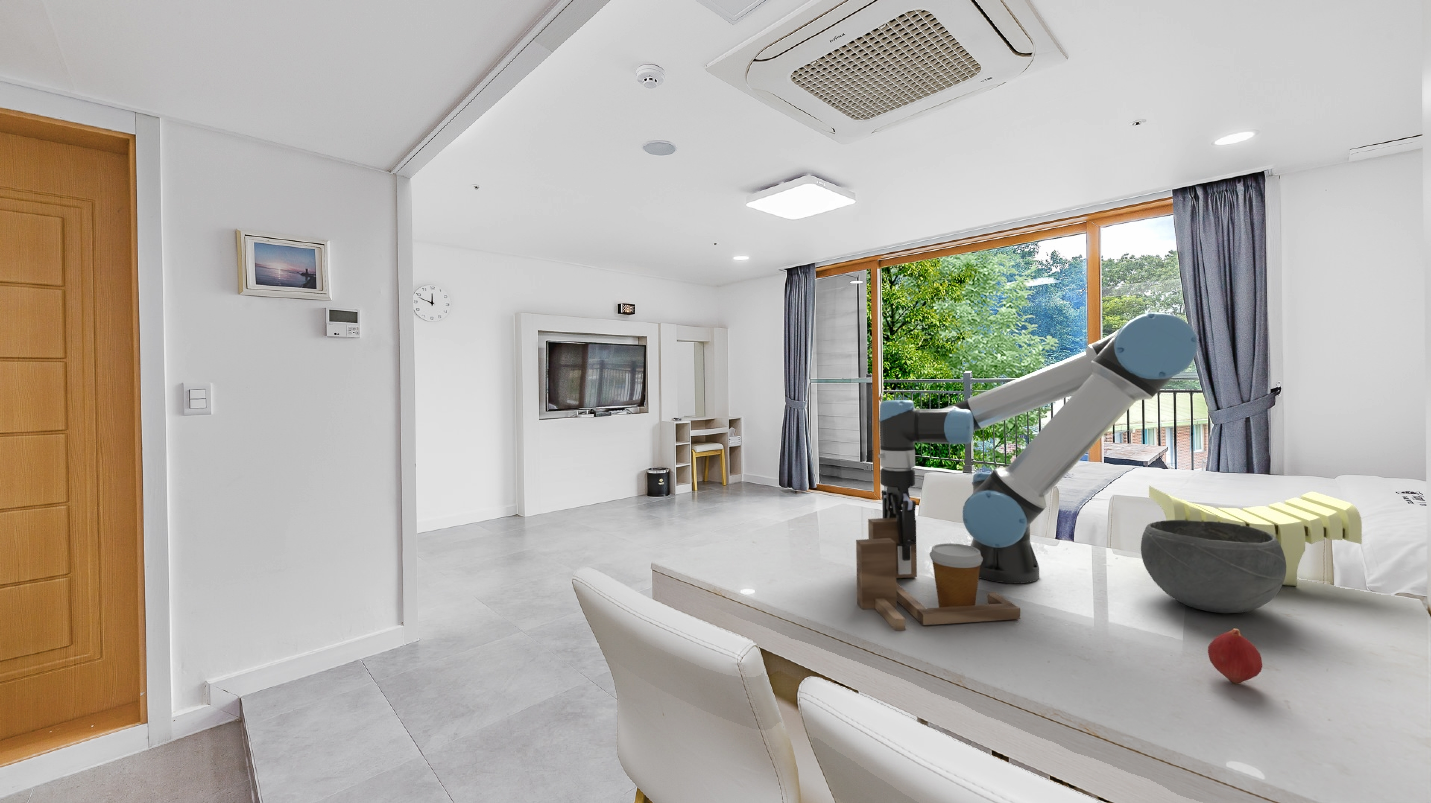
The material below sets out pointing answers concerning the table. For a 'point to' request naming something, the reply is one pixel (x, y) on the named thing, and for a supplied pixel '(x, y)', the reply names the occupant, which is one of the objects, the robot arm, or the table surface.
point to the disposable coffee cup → (956, 573)
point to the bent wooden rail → (944, 615)
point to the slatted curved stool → (1279, 521)
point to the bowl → (1214, 564)
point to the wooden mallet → (878, 579)
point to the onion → (1235, 656)
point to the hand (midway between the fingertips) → (898, 568)
